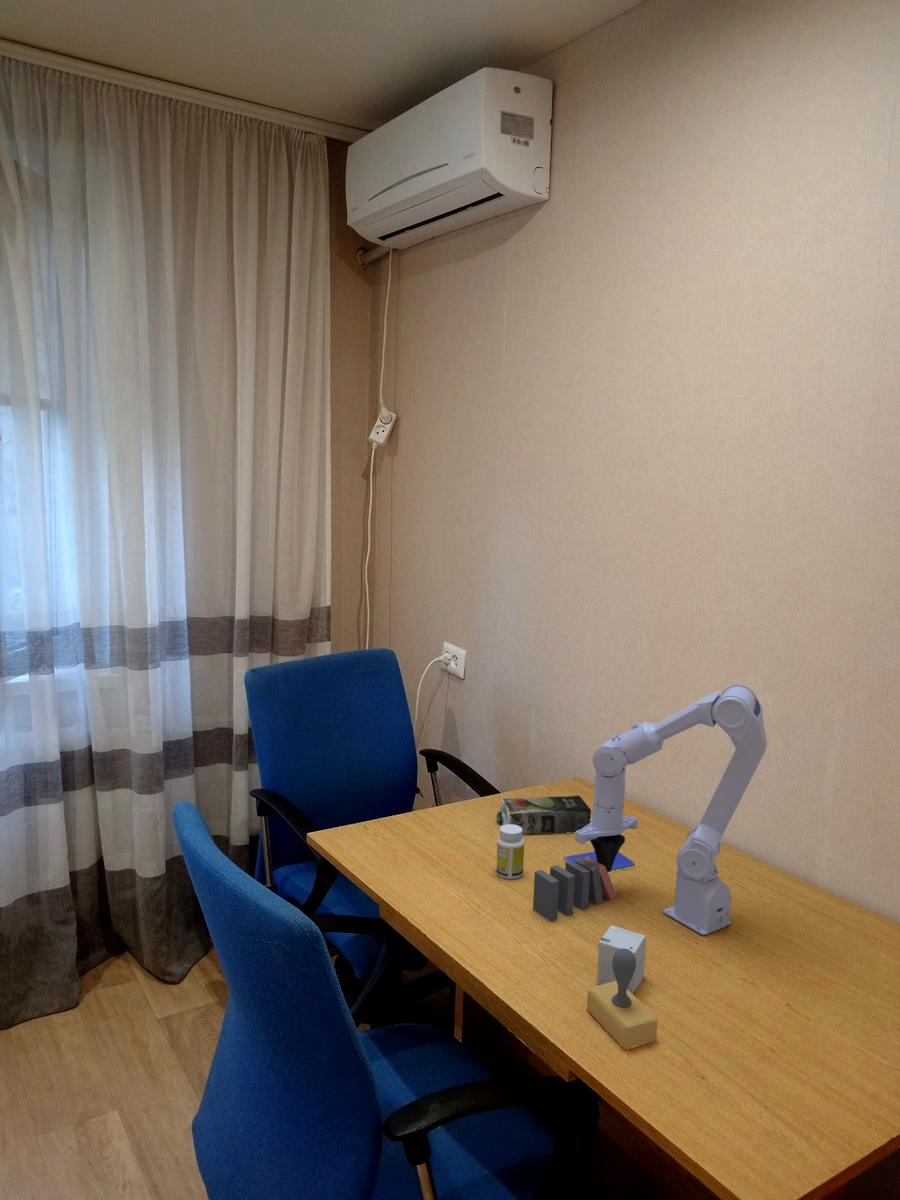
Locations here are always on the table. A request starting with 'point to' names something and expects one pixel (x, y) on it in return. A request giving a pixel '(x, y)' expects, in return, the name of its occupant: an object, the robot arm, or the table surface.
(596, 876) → the domino
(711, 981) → the table surface
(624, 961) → the rubber stamp
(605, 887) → the domino
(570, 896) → the domino
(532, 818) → the juice carton
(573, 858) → the hard drive
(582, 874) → the domino
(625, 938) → the skincare box
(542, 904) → the domino
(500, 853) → the supplement bottle
